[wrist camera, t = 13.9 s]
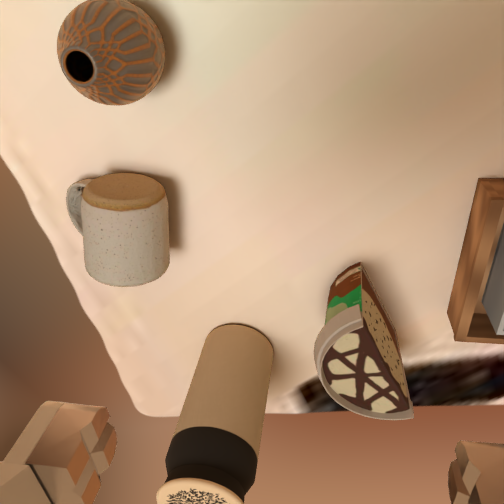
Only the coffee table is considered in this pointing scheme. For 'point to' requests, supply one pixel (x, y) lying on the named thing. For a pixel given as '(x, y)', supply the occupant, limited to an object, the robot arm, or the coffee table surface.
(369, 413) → the food container
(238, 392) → the travel mug
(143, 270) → the ceramic mug
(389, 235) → the coffee table surface
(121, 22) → the vase
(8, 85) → the coffee table surface
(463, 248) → the big crate
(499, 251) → the small crate
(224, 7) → the coffee table surface
